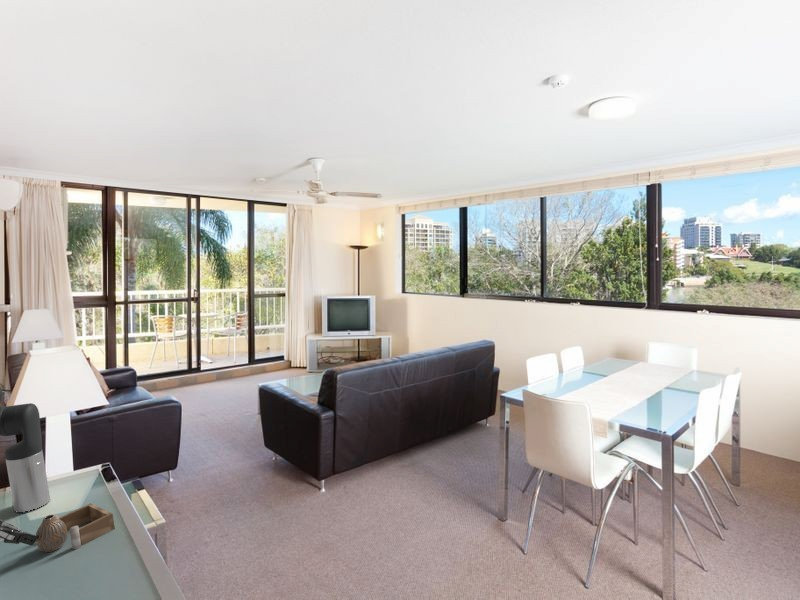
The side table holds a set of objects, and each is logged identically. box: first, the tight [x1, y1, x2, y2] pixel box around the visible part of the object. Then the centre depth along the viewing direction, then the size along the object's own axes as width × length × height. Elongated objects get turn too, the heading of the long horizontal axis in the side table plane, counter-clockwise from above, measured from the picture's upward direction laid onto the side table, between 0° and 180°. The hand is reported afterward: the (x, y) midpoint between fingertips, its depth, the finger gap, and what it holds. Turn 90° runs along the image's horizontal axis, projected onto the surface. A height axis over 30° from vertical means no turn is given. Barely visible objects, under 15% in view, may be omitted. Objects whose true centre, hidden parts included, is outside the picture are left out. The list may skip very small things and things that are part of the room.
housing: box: [53, 503, 116, 550], centre depth 132 cm, size 14×10×6 cm
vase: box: [35, 514, 68, 553], centre depth 126 cm, size 7×7×9 cm
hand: (34, 540), depth 123 cm, fingers closed
